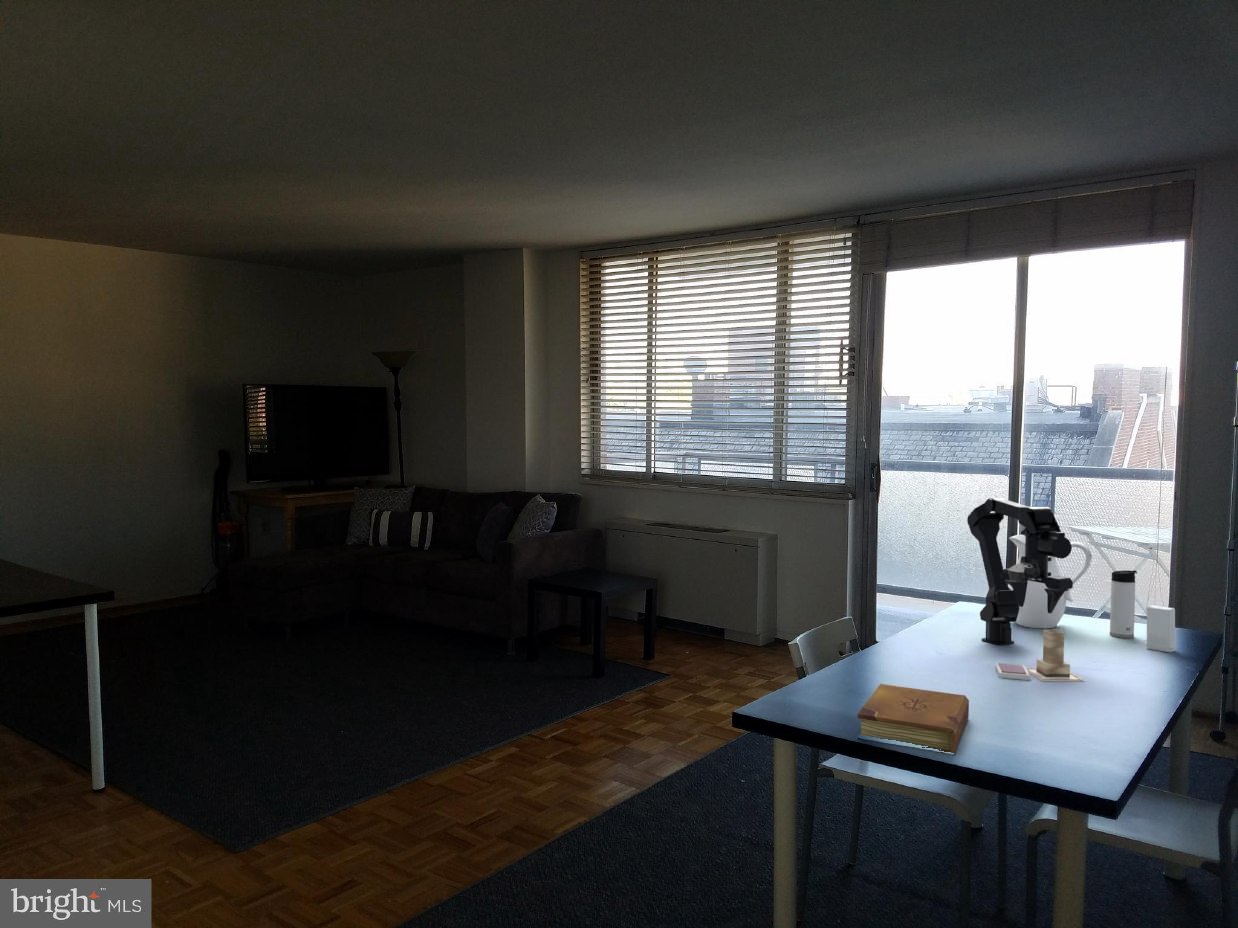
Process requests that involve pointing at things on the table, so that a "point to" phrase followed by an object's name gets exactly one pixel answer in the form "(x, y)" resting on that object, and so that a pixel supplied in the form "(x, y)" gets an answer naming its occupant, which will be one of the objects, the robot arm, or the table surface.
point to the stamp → (1053, 656)
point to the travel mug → (1122, 604)
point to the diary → (915, 717)
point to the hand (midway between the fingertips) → (1035, 609)
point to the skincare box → (1161, 628)
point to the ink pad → (1012, 671)
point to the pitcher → (1044, 592)
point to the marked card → (1043, 678)
